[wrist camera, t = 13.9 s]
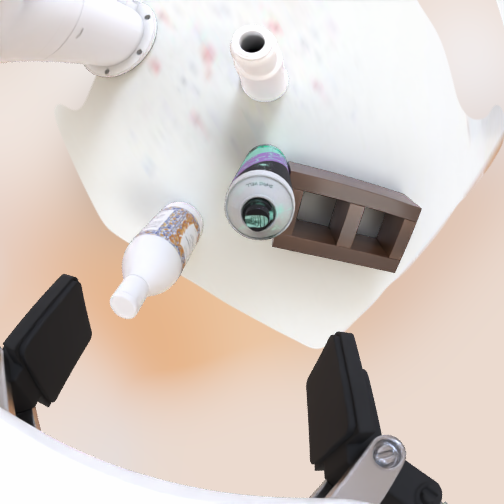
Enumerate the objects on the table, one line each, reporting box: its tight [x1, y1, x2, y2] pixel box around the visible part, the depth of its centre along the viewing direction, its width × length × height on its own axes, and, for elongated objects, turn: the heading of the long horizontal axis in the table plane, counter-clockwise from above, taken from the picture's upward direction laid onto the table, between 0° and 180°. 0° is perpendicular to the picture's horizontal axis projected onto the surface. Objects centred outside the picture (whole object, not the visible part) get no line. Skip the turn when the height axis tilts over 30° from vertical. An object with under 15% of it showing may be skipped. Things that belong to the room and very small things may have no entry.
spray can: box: [225, 144, 295, 240], centre depth 28 cm, size 6×6×20 cm
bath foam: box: [110, 202, 203, 319], centre depth 33 cm, size 7×7×20 cm
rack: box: [272, 162, 422, 273], centre depth 37 cm, size 10×18×6 cm, turn 79°
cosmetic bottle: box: [230, 25, 289, 102], centre depth 22 cm, size 6×6×22 cm
